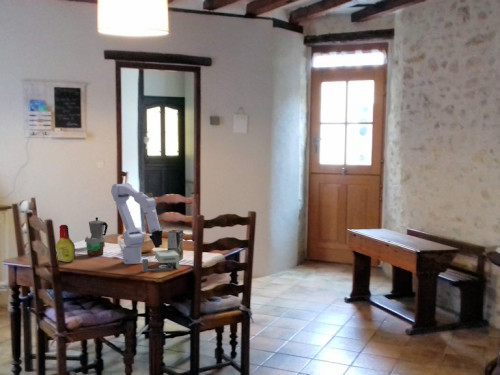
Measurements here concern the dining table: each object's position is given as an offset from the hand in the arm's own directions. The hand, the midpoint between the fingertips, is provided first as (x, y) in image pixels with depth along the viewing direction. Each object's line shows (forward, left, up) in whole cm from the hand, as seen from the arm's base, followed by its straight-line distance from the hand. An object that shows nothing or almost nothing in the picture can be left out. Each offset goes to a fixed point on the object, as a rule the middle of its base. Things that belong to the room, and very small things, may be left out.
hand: (158, 246), depth 290 cm
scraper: (-1, +3, -12) cm, 12 cm away
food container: (-30, +43, -12) cm, 54 cm away
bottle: (-45, +32, -12) cm, 56 cm away
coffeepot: (-25, +67, -12) cm, 73 cm away
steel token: (+3, +4, -12) cm, 14 cm away
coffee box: (+13, +19, -12) cm, 26 cm away
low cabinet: (+5, +6, -12) cm, 15 cm away
